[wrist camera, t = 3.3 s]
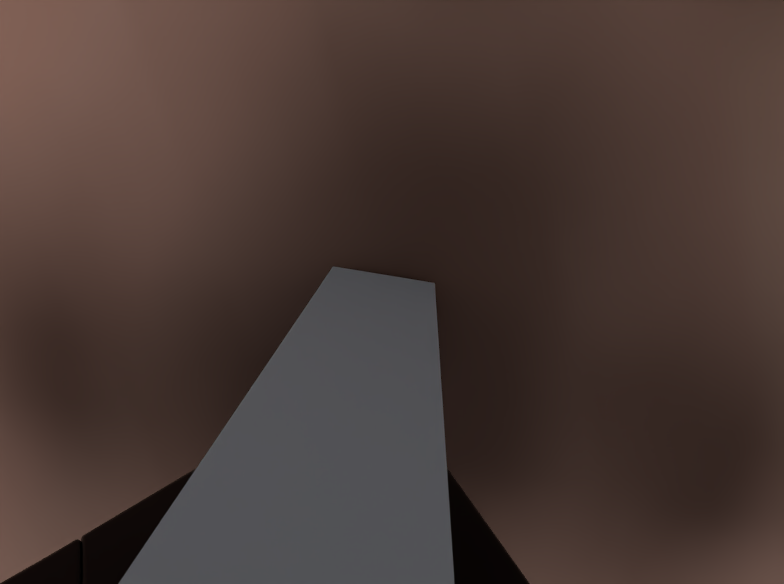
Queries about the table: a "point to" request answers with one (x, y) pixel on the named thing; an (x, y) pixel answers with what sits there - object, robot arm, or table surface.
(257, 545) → the domino
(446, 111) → the table surface
